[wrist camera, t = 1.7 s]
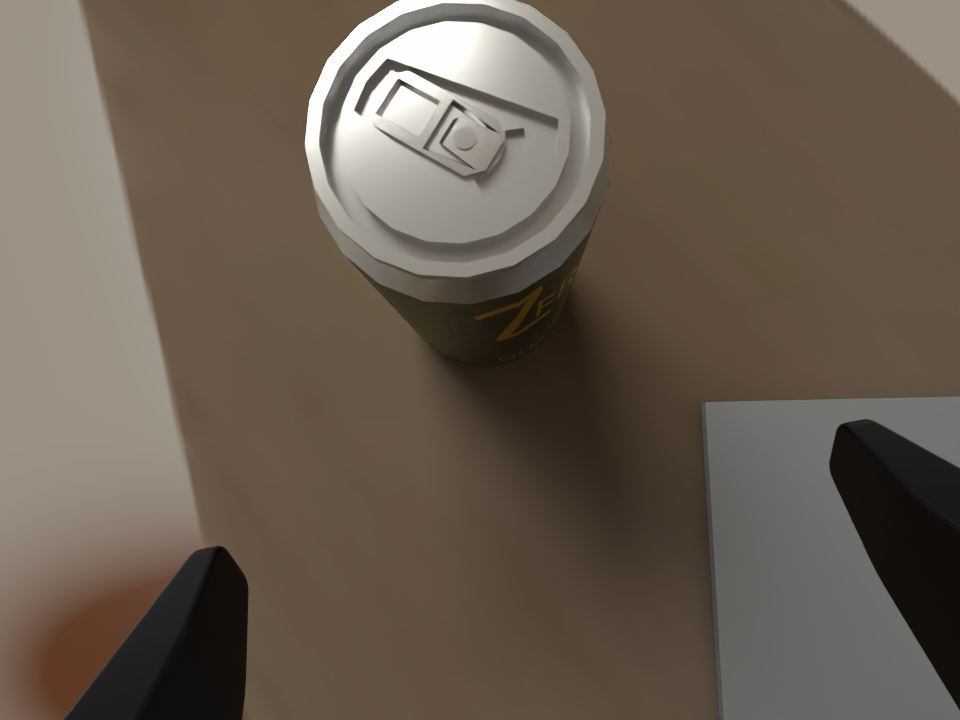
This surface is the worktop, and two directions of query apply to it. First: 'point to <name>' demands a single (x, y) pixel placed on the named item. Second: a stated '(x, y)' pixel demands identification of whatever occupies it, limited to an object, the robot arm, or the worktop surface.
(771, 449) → the grey mat
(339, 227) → the beer can
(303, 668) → the worktop surface
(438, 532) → the worktop surface
